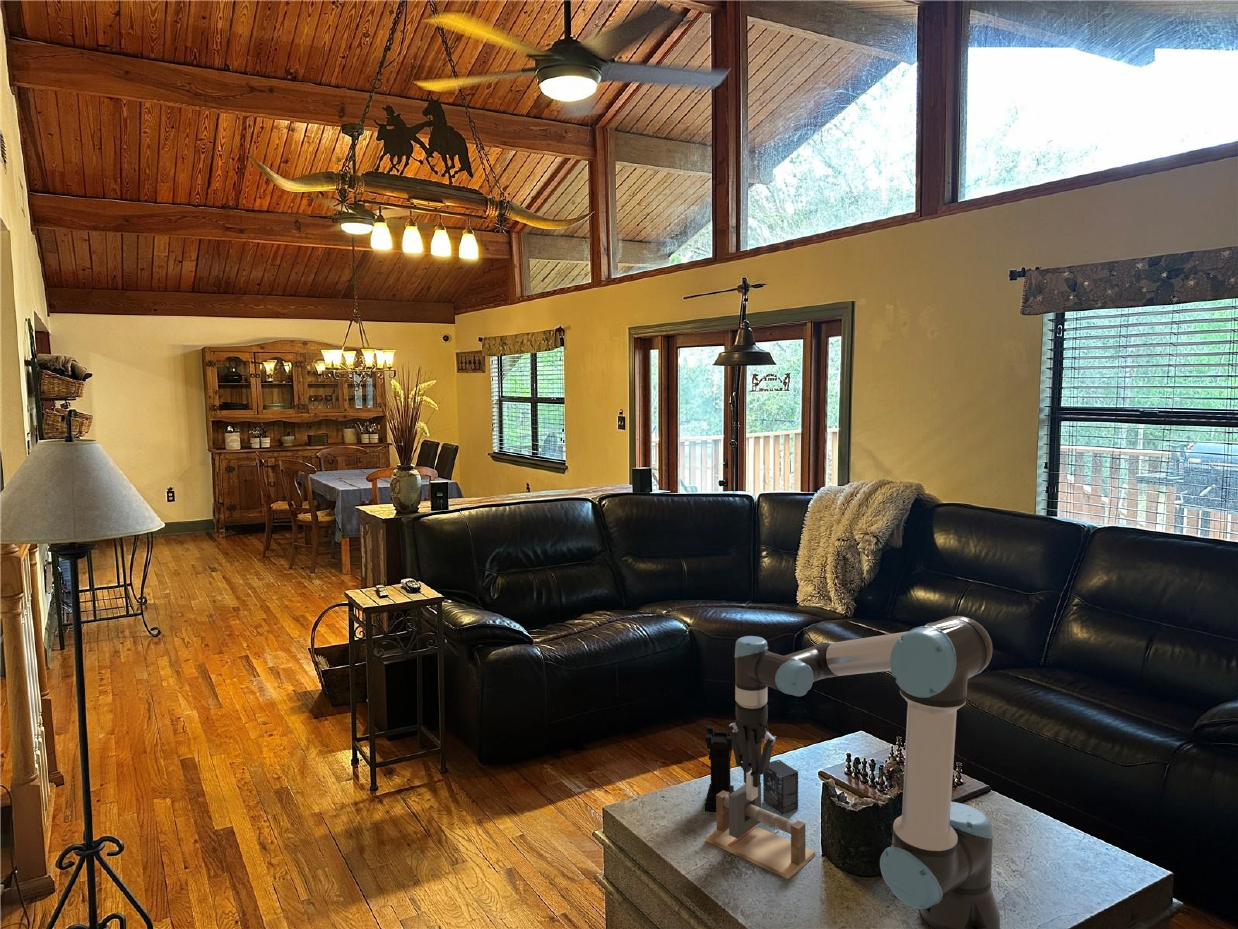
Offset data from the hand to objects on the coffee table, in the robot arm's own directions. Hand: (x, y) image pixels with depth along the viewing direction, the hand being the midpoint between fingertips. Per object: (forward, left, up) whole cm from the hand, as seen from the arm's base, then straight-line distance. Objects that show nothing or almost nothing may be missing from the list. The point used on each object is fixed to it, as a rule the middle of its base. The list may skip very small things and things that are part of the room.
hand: (752, 797), depth 189 cm
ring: (+2, 0, -8) cm, 9 cm away
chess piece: (+17, -10, -12) cm, 23 cm away
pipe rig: (-2, 0, -12) cm, 12 cm away
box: (+5, -20, -12) cm, 24 cm away
